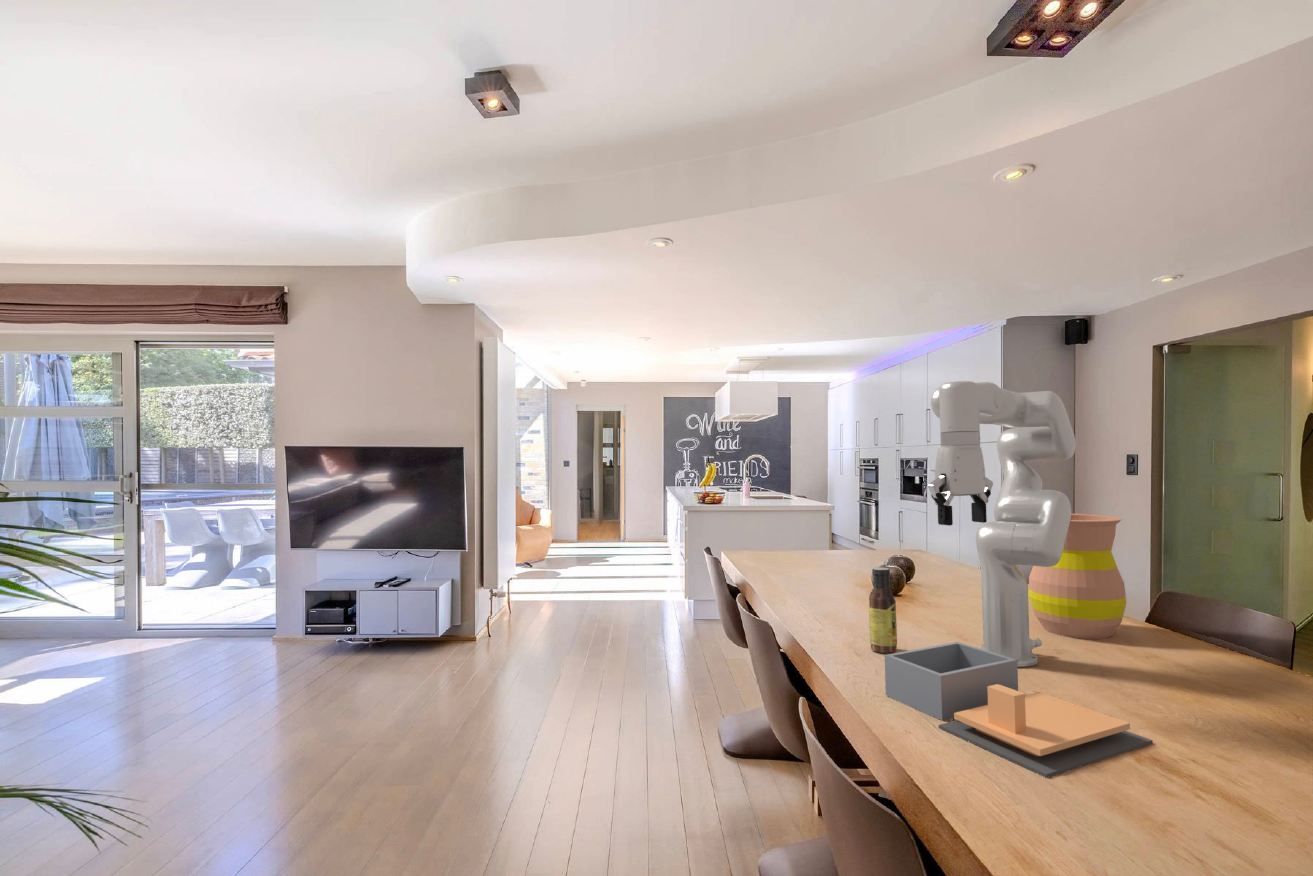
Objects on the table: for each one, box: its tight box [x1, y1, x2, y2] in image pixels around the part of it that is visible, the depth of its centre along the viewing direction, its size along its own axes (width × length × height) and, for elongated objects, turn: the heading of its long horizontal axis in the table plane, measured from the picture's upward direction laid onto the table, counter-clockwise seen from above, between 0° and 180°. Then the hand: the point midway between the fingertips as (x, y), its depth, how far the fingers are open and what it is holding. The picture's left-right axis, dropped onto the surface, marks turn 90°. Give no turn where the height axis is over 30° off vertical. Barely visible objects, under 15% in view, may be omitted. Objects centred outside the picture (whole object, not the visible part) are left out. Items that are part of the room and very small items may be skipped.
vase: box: [1028, 513, 1127, 640], centre depth 177 cm, size 22×22×30 cm
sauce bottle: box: [868, 567, 898, 654], centre depth 163 cm, size 7×6×20 cm
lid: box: [953, 684, 1131, 757], centre depth 113 cm, size 22×16×8 cm
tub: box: [884, 641, 1019, 721], centre depth 131 cm, size 20×14×8 cm
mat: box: [938, 720, 1154, 778], centre depth 113 cm, size 26×20×1 cm
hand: (962, 523), depth 139 cm, fingers open, 9 cm apart
